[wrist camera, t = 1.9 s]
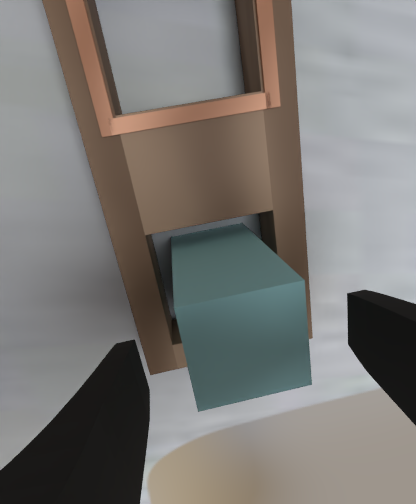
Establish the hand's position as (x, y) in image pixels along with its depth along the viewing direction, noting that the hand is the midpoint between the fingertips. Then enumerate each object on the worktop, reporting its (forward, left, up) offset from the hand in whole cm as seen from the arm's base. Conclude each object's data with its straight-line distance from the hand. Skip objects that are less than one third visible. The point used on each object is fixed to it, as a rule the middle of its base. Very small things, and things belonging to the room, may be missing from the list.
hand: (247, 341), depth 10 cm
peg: (0, 0, -8) cm, 8 cm away
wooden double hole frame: (0, +5, -8) cm, 9 cm away
